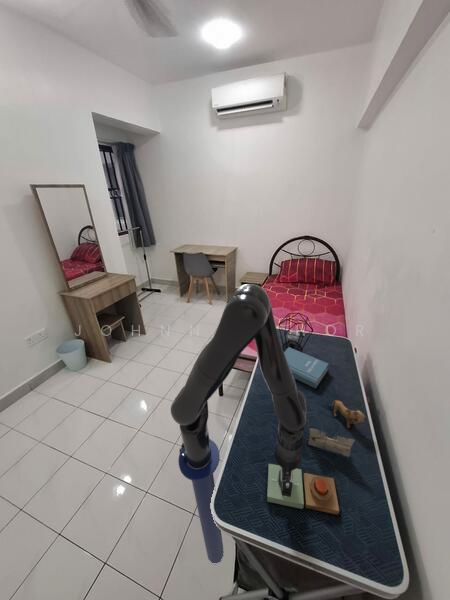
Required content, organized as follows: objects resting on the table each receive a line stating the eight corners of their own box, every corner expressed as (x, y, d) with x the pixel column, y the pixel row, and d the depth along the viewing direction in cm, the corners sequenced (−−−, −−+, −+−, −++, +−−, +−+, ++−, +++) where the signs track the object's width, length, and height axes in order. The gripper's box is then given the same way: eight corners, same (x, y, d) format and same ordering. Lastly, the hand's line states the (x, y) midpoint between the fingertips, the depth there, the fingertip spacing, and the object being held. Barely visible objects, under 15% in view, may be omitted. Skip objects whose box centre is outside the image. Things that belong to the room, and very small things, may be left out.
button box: (305, 507, 74) (306, 501, 72) (303, 476, 82) (304, 469, 80) (338, 514, 72) (340, 508, 70) (332, 481, 80) (334, 475, 78)
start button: (315, 493, 74) (316, 490, 74) (314, 481, 78) (314, 477, 77) (327, 496, 74) (328, 493, 73) (326, 483, 77) (326, 480, 76)
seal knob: (292, 491, 76) (293, 483, 74) (278, 488, 77) (278, 480, 74) (291, 476, 80) (292, 467, 77) (278, 473, 80) (278, 465, 78)
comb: (307, 447, 91) (309, 430, 86) (307, 441, 93) (310, 424, 88) (350, 460, 86) (355, 443, 81) (349, 454, 88) (354, 436, 83)
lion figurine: (363, 427, 97) (368, 412, 93) (356, 435, 94) (361, 420, 90) (330, 403, 107) (333, 389, 103) (323, 410, 105) (326, 395, 101)
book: (327, 371, 126) (328, 363, 123) (314, 389, 115) (316, 382, 113) (288, 354, 139) (288, 347, 137) (273, 369, 129) (274, 362, 127)
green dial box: (267, 501, 76) (267, 496, 75) (268, 468, 85) (268, 463, 84) (303, 509, 74) (304, 504, 73) (300, 474, 83) (301, 469, 81)
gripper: (275, 424, 77) (273, 454, 84) (274, 471, 65) (272, 502, 72) (299, 428, 76) (295, 458, 83) (303, 477, 63) (298, 508, 70)
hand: (284, 478), depth 77 cm, fingers open, 8 cm apart
